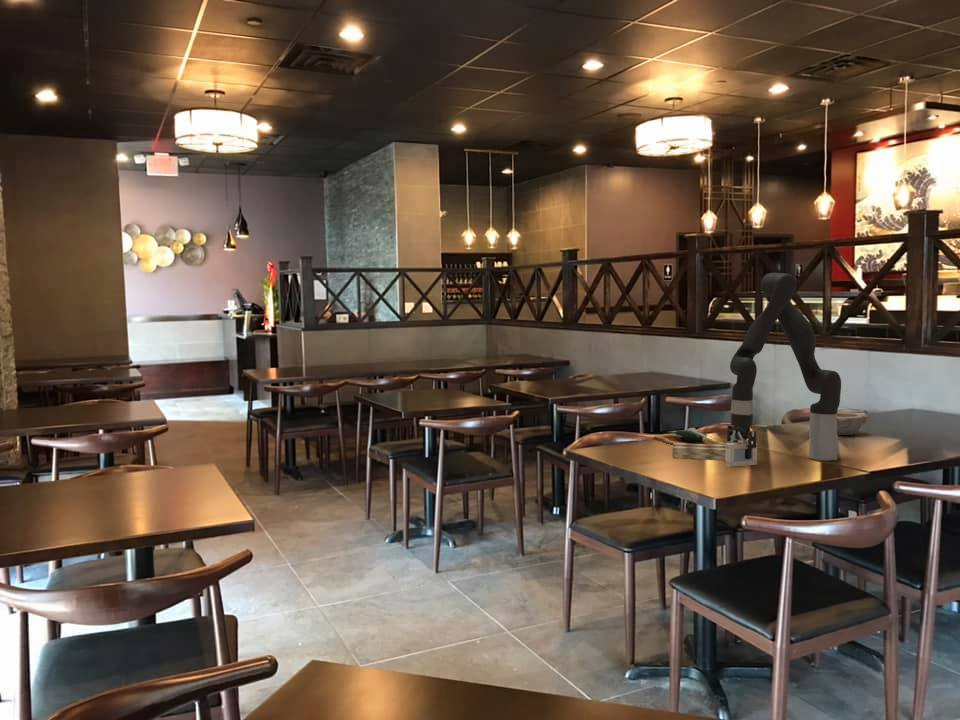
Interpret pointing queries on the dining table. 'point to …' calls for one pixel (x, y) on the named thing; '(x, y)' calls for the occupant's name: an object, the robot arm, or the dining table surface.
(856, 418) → the mortar
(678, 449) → the picture ledge
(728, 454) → the tapered grey panel
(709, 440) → the decorative plaque
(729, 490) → the dining table surface
